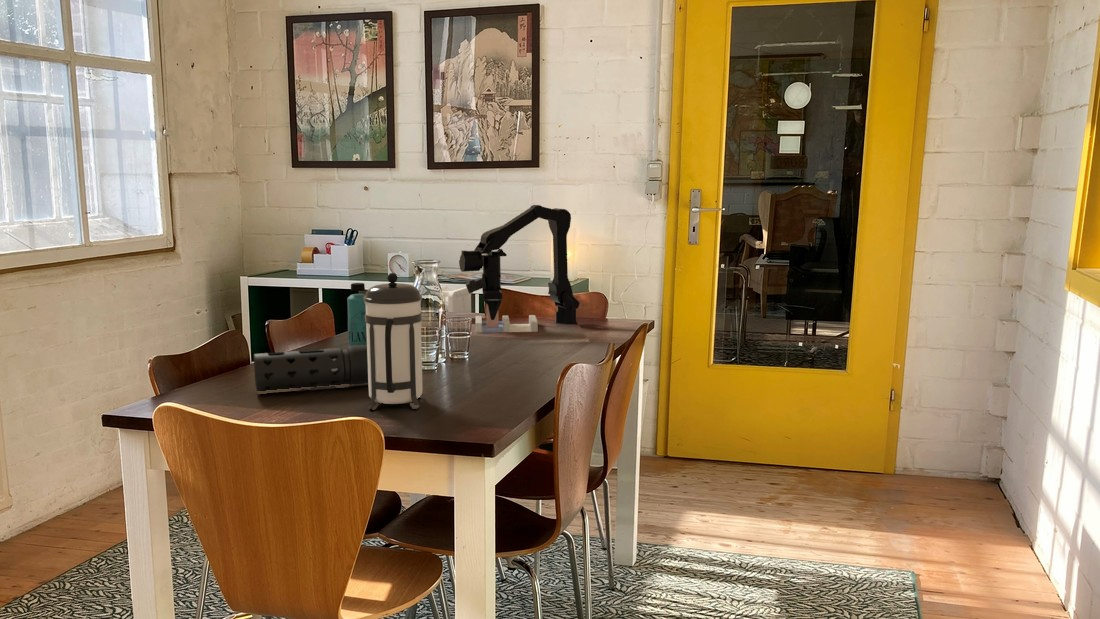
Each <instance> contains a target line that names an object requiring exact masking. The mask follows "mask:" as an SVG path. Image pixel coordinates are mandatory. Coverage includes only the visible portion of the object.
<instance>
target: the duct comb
mask: <svg viewBox="0 0 1100 619" xmlns="http://www.w3.org/2000/svg"><path fill="white" fill-rule="evenodd" d="M482 318H483V317H482V315H475V333H479V334H481V333H482V334H483V333H537V332H538V331H539V330H538V329H539V328H538V326H539V325H538V324H539V323H538V319H537V317H536V315H535V314H530V315H528V323H511V322H510V318H509V315H502V318H501V319H502V321H500V320H499V329H486V321H483V320H482Z"/></svg>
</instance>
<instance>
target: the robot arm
mask: <svg viewBox="0 0 1100 619" xmlns="http://www.w3.org/2000/svg"><path fill="white" fill-rule="evenodd" d="M537 219H542V220H545V221H548V227H549V230H550V232H551V235H552V247H553V248H552V252H553V254H552V256H553V257H552V258H553V279H552V280H551V282H550V281H549V282H548V284H547V285H548V292H547V293H548V295H549V298H550V299H551V300H552V302H553V303H554V305H555V307H556V311H555V320H554V321H555V324H557V325H559V324H562V325H571V324H576V323H577V309H579V306H580V301H579V300H578V299H577V298H575V296H574V294H573V286H572V285H571V282H570V280H569V275H568V272H569V271H568V239H567V238H568V233H569V231H570V228H571V221H572V214H571V213H570V211H569V210H567V209H566V208H557V207H556V208H549V207H546V206H542V205H540V204H531V205H530V207H529V208H527V209H525V211H522V212H521V213H520V214H518V215H517V216H515V217H514V218H512V219H510V220H508V222H506V223H504V224H502V225H500V226H498V227H494V228H491V229H489V230H487V231H485V232H483V233H482V234H481V236H480V241H479V243H478V244H477V246H476V247H475V248H474V250H461V251H460V252H461V254H460V256H459V260H458V264H459V265H458V266H459V269H460V270H459V271H460V272H461V273H462V272H463V273H465V272H479V271H481V269H482V274H481V277H479V278H476V279H472V280H469V281H468V282H466V283H465V287H466V288H467V289H468V292H469V294H470V293H471V294H473V293H474V292H476V291H479V290H481V289H482V301H483V302H484V303H485V305H486V304H487V305H488V308H489V313H490V318H491V320H494V319H495V317H496V314H497V311H498V312H499V308H500V305H501V304H502V300H503V292H502V285H501V284H502V280H501V279H502V278H501V277H502V274H501V271H502V270H501V269H502V268H501V257H507V253H506V252H504V249H502V247H503V246H504V245H505V244H506V243H507V242H508V240H509V239H510V238H511V237H512V236H513V235H514V234H516V233H517V232H519V231H520V230H522V229H523V228H525V227H527V226H528V225H529V224H531V223H533V222H535V221H536V220H537Z"/></svg>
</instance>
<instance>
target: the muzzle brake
mask: <svg viewBox="0 0 1100 619" xmlns="http://www.w3.org/2000/svg"><path fill="white" fill-rule="evenodd" d="M253 368H254V370H253V371H254V382H255V391H266V390H277V389H289V388H301V387H317V386H329V385H341V384H351V385H352V384H354V385H364V384H365V383H366V384H368V357H367V346H366V345H355V346H349V345H348V346H347V347H346V348H345V349H342V348H341V347H332V348H330V347H329V348H322V349H320V348H319V349H312V350H311V349H309V350H308V349H307V350H306V349H305V350H289V351H281V352H280V351H278V352H263V353H262V352H261V353H254V354H253Z"/></svg>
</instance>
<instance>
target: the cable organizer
mask: <svg viewBox="0 0 1100 619" xmlns="http://www.w3.org/2000/svg"><path fill="white" fill-rule="evenodd" d="M440 287H441V288H442V291H443V296H444V302H445V311H446V312H457V313H471V314H472V293H470V294H469V292H468V289H467V287H466V286H465V287H461V288H457V289H454V290H449V287H448V286H447V285H446V286H445V285H443V286H440Z"/></svg>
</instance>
